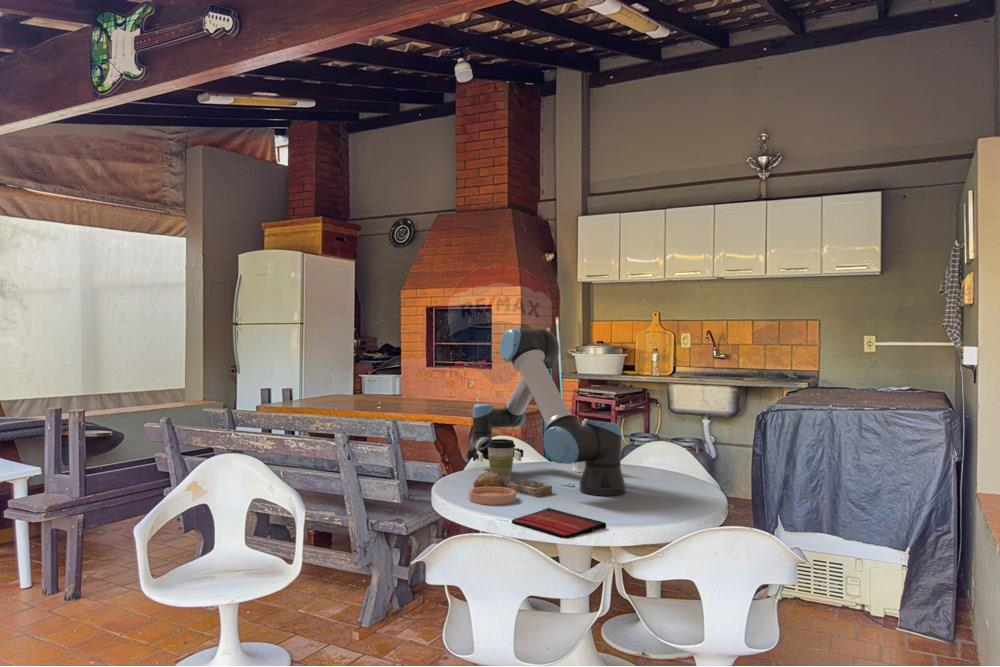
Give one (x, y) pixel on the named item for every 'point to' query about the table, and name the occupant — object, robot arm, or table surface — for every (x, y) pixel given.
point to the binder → (559, 523)
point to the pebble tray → (530, 487)
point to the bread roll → (488, 480)
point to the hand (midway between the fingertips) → (500, 457)
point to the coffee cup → (501, 458)
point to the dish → (492, 495)
